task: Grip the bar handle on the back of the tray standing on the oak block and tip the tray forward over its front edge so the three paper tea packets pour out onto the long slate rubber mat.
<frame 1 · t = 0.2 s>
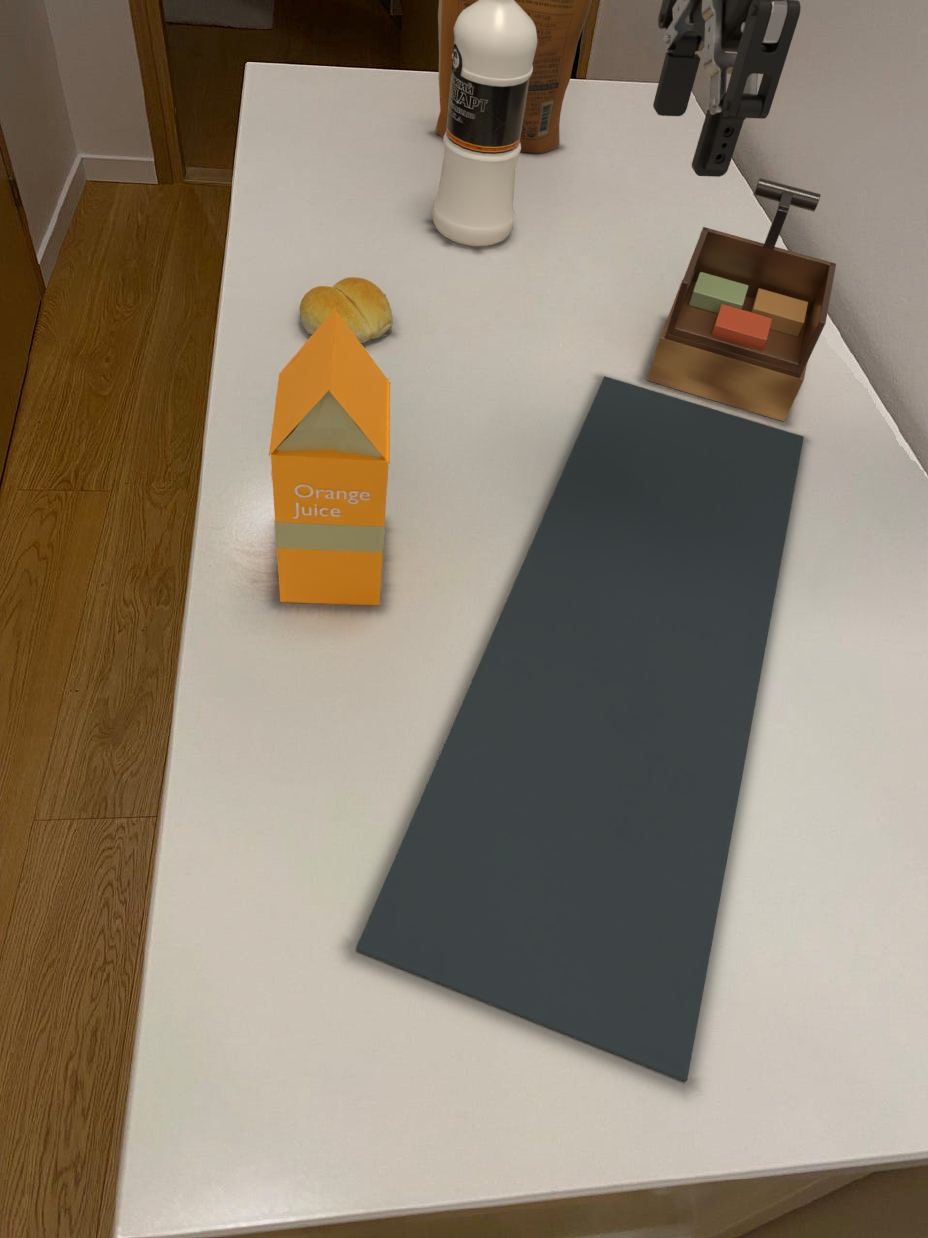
hand: (686, 142, 63), 29 cm above the worktop, tool pointing down, fingers open, 8 cm apart
mat: (633, 633, 73), on the worktop
orange juice: (332, 563, 75), on the worktop
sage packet: (716, 302, 94), point 6 cm above the worktop, touching tray
white bottle: (471, 230, 109), on the worktop
stand: (724, 369, 97), on the worktop
tray: (761, 269, 90), point 10 cm above the worktop, hinge at 0.0°, touching kraft packet, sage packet, stand, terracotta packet
pancake mix bag: (497, 145, 124), on the worktop
bread roll: (347, 324, 95), on the worktop
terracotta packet: (738, 335, 91), point 6 cm above the worktop, touching tray
kraft packet: (775, 319, 94), point 6 cm above the worktop, touching tray
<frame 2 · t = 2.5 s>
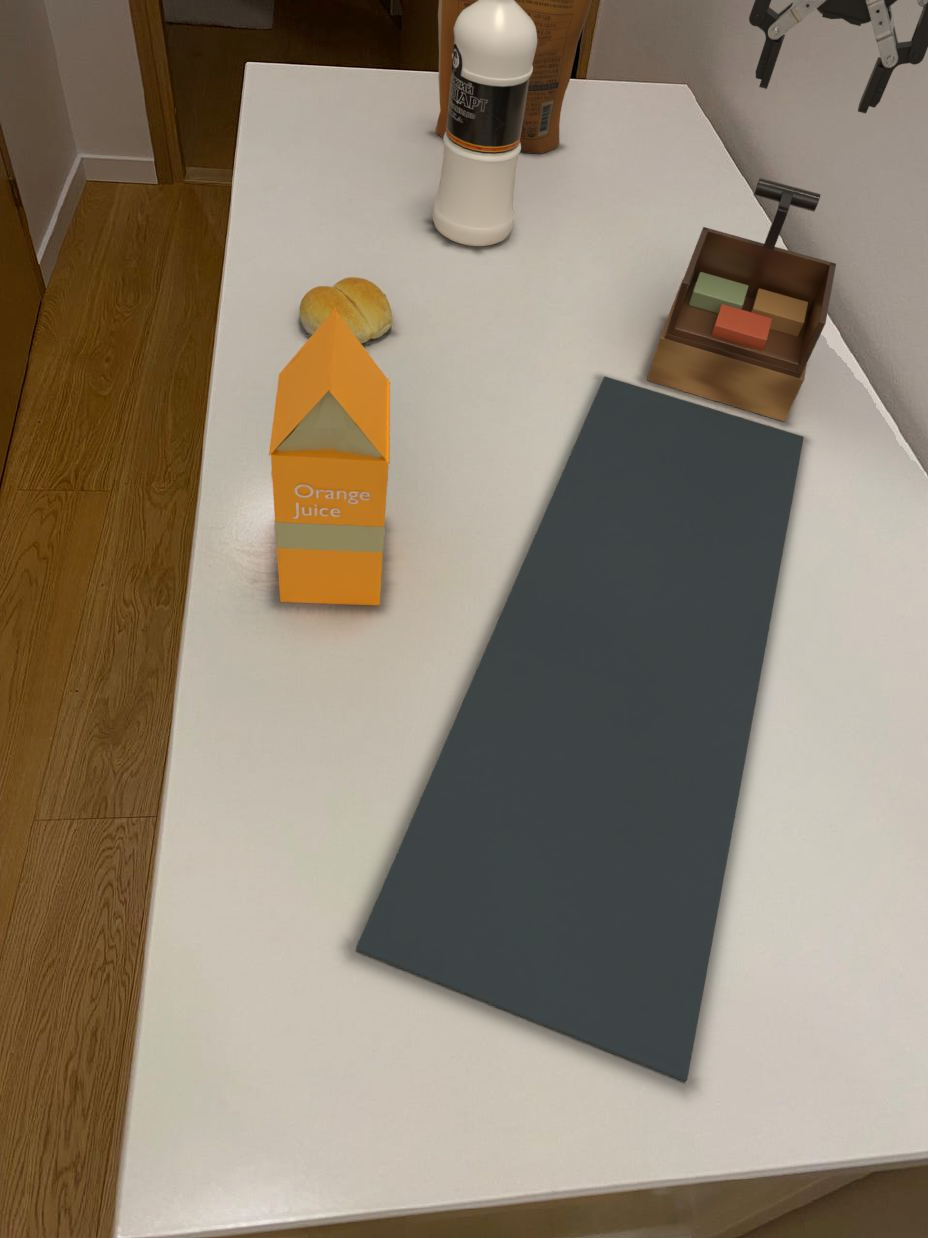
hand: (812, 96, 81), 25 cm above the worktop, tool pointing down, fingers open, 8 cm apart
nothing on the worktop moved.
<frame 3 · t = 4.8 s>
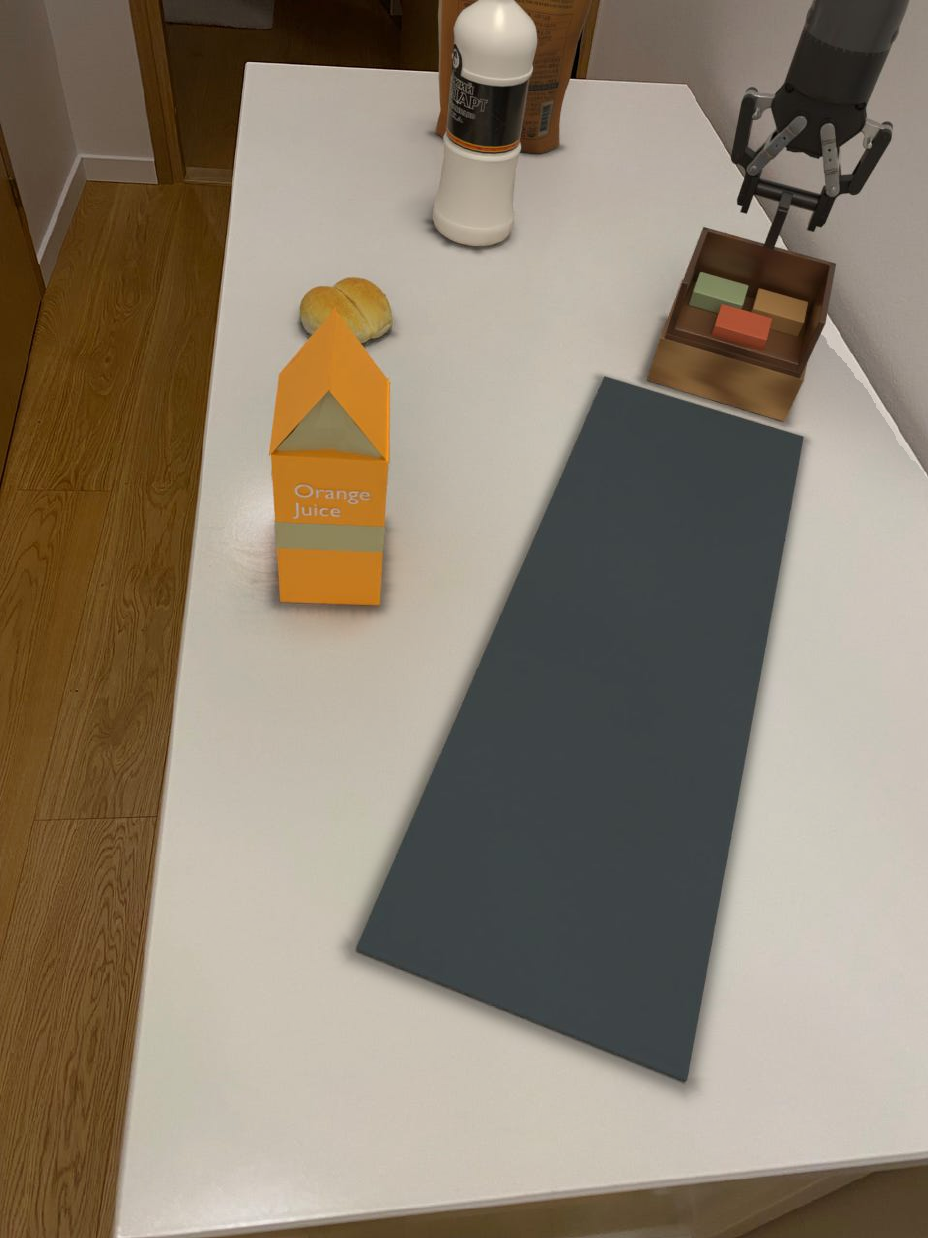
hand: (777, 217, 93), 12 cm above the worktop, tool pointing down, fingers closed on tray, 6 cm apart
tray: (761, 269, 90), point 10 cm above the worktop, hinge at 0.0°, touching gripper, kraft packet, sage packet, stand, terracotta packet
everything else where it was.
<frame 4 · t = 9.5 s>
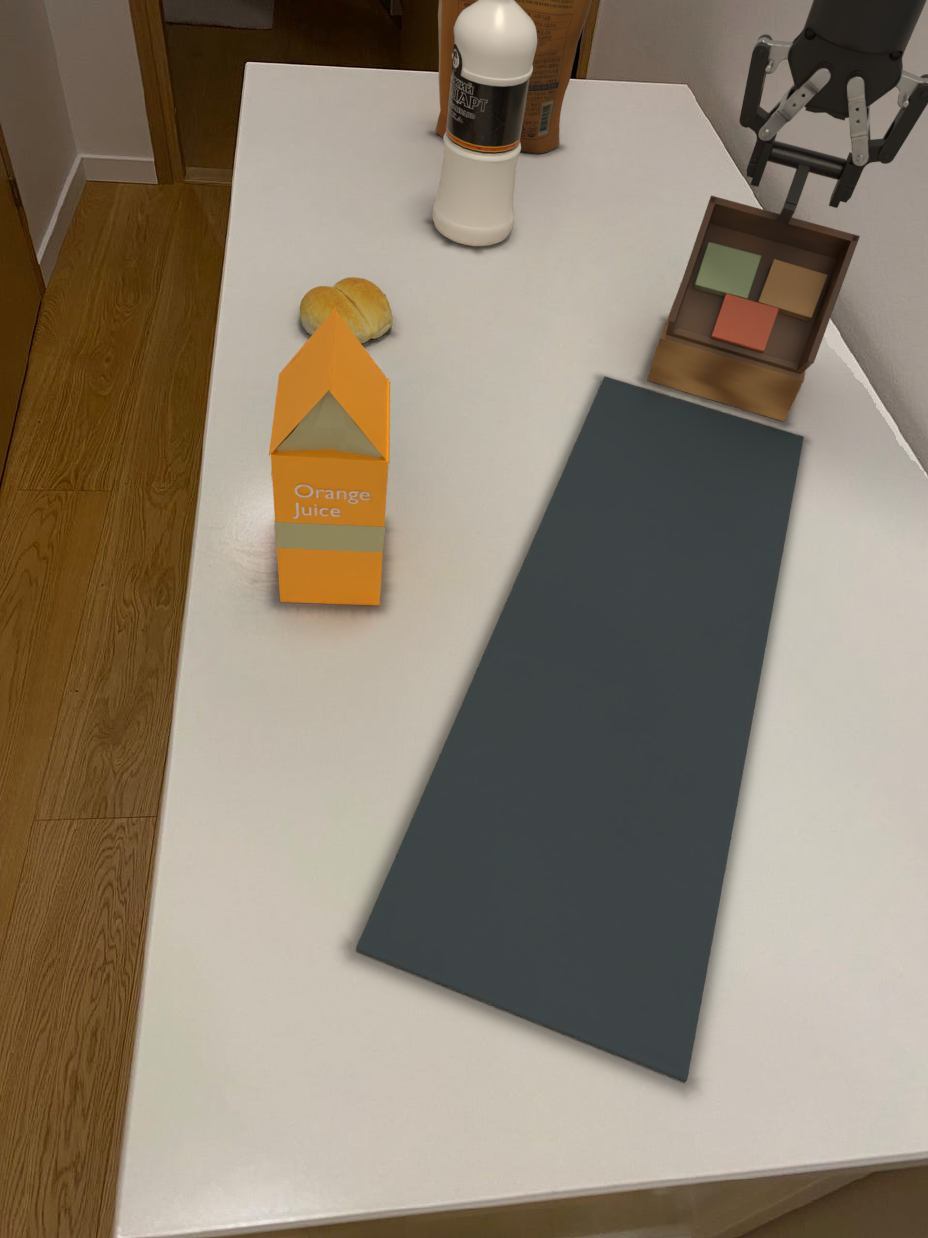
hand: (794, 191, 79), 20 cm above the worktop, tool pointing down, fingers closed on tray, 6 cm apart
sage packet: (726, 274, 89), point 10 cm above the worktop, tilted 46°, touching tray, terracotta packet
tray: (769, 257, 84), point 14 cm above the worktop, hinge at 47.0°, touching gripper, kraft packet, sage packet, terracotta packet
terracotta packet: (742, 325, 89), point 8 cm above the worktop, tilted 47°, touching tray, kraft packet, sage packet
kraft packet: (789, 292, 88), point 10 cm above the worktop, tilted 46°, touching tray, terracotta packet
everything else where it was.
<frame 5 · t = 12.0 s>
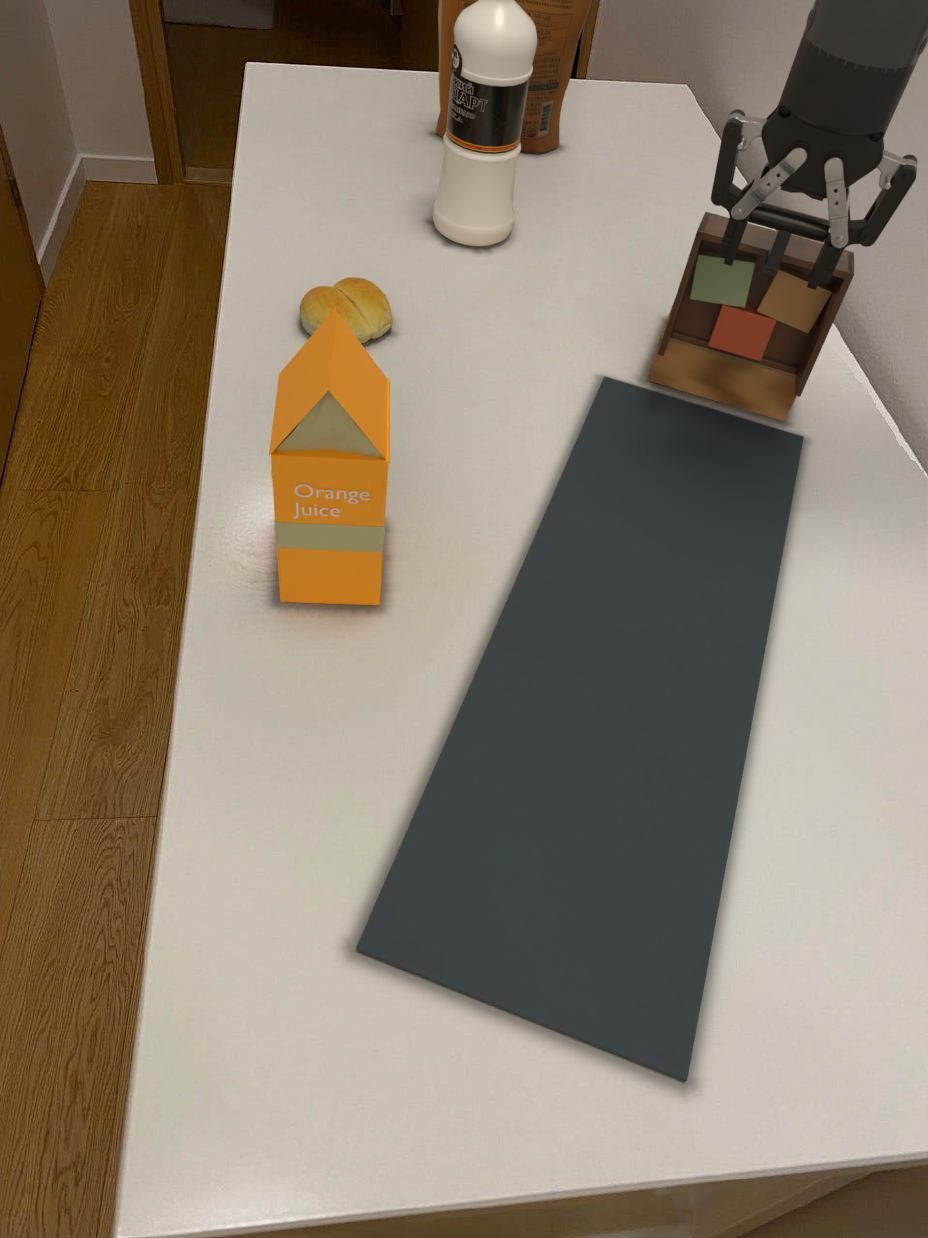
hand: (770, 271, 74), 18 cm above the worktop, tool pointing down, fingers closed on tray, 6 cm apart
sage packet: (723, 275, 85), point 12 cm above the worktop, tilted 79°, touching tray, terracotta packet
tray: (760, 289, 81), point 14 cm above the worktop, hinge at 79.8°, touching gripper, kraft packet, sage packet, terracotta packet
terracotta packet: (743, 327, 87), point 8 cm above the worktop, tilted 80°, touching tray, kraft packet, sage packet
kraft packet: (794, 296, 84), point 12 cm above the worktop, tilted 79°, touching tray, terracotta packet
everything else where it was.
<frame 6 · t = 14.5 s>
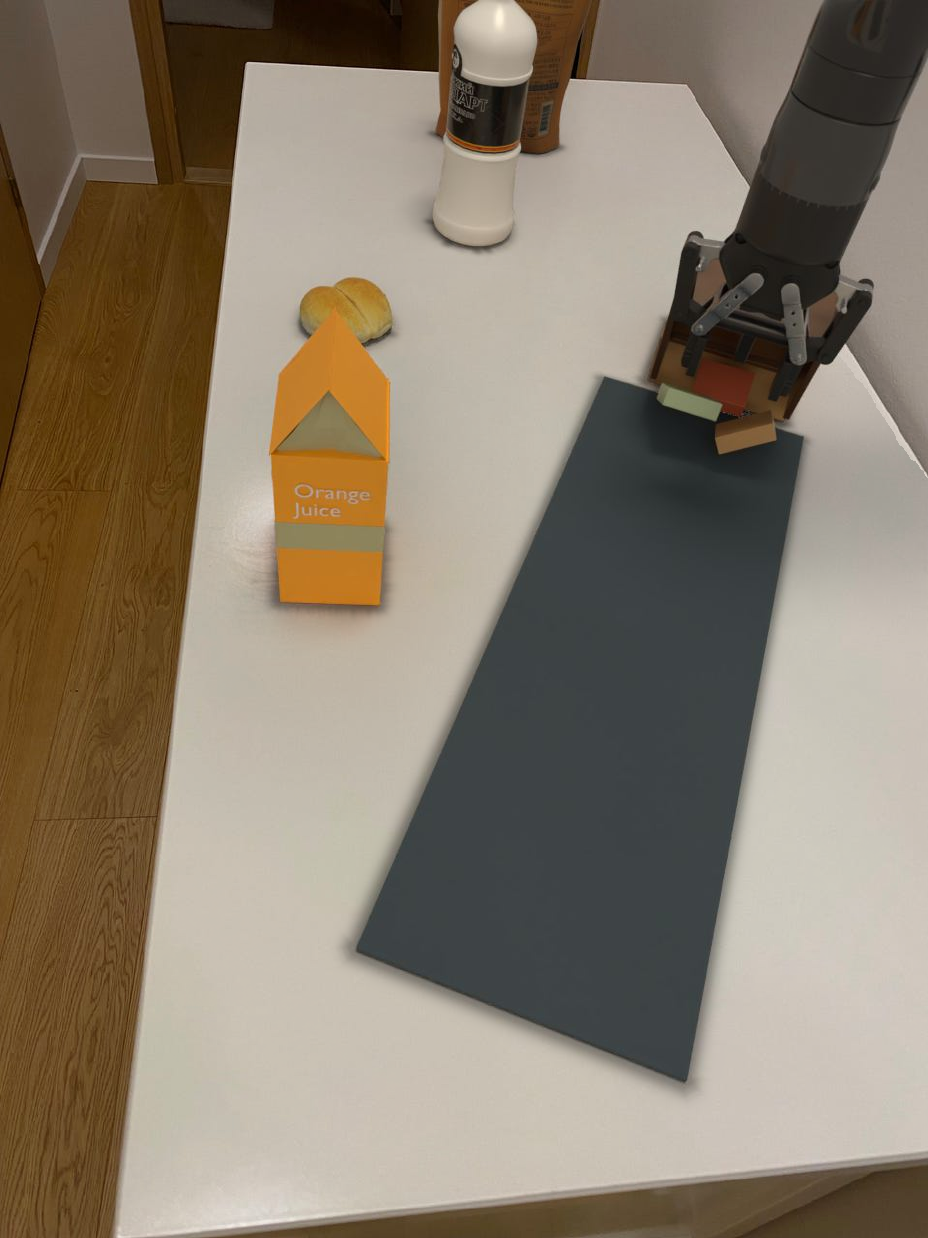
hand: (731, 382, 75), 12 cm above the worktop, tool pointing down, fingers closed on tray, 6 cm apart
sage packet: (692, 392, 84), point 6 cm above the worktop, tilted 150°
tray: (743, 338, 80), point 11 cm above the worktop, hinge at 109.3°, touching gripper
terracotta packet: (723, 382, 87), point 5 cm above the worktop, tilted 162°
kraft packet: (743, 423, 85), point 4 cm above the worktop, tilted 143°
everything else where it was.
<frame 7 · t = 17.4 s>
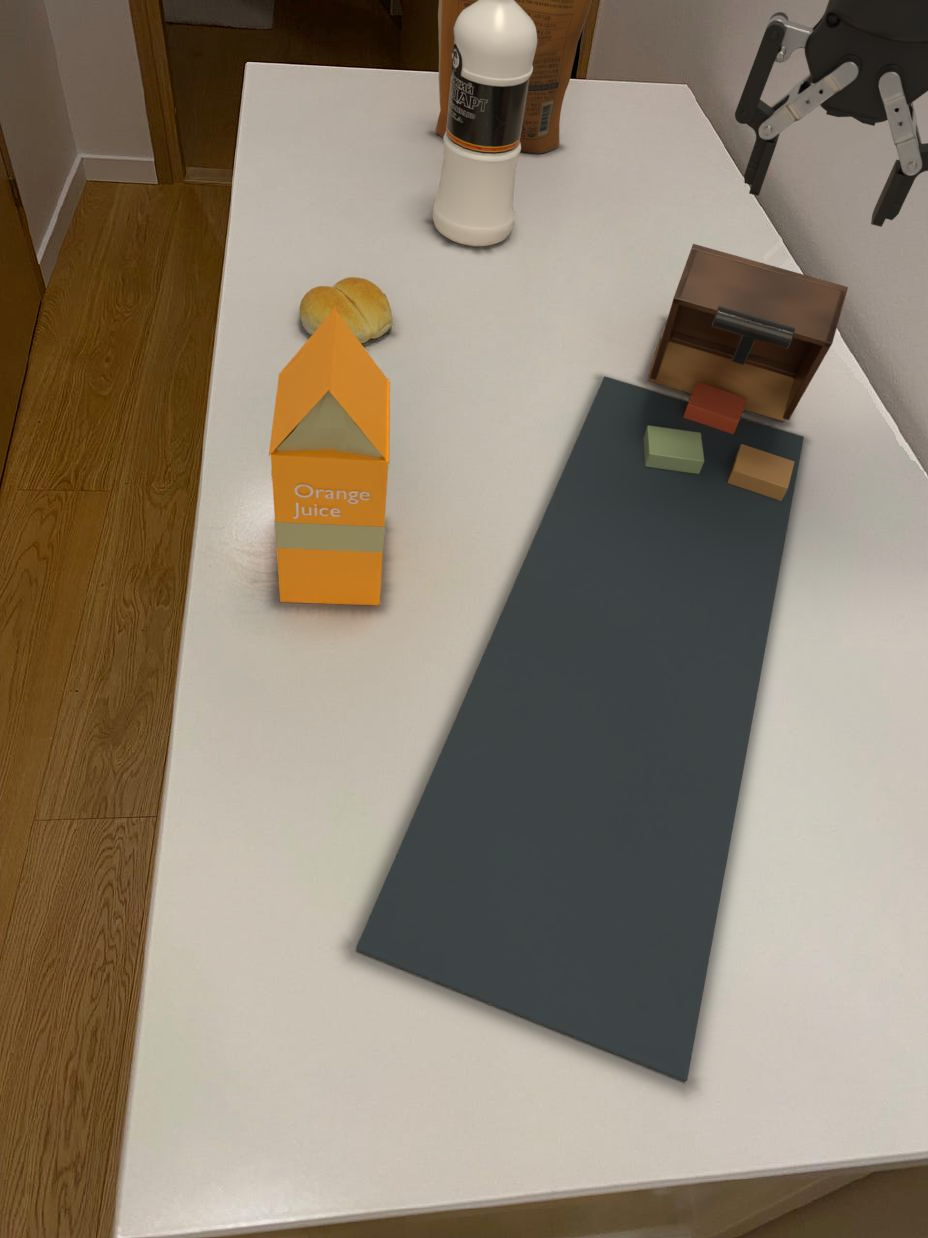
hand: (814, 205, 66), 26 cm above the worktop, tool pointing down, fingers open, 8 cm apart
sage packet: (675, 442, 85), point 2 cm above the worktop, tilted 180°, touching mat
tray: (743, 339, 80), point 11 cm above the worktop, hinge at 109.7°
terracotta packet: (717, 400, 90), point 2 cm above the worktop, tilted 180°, touching mat
kraft packet: (764, 465, 85), point 2 cm above the worktop, tilted 180°, touching mat
everything else where it was.
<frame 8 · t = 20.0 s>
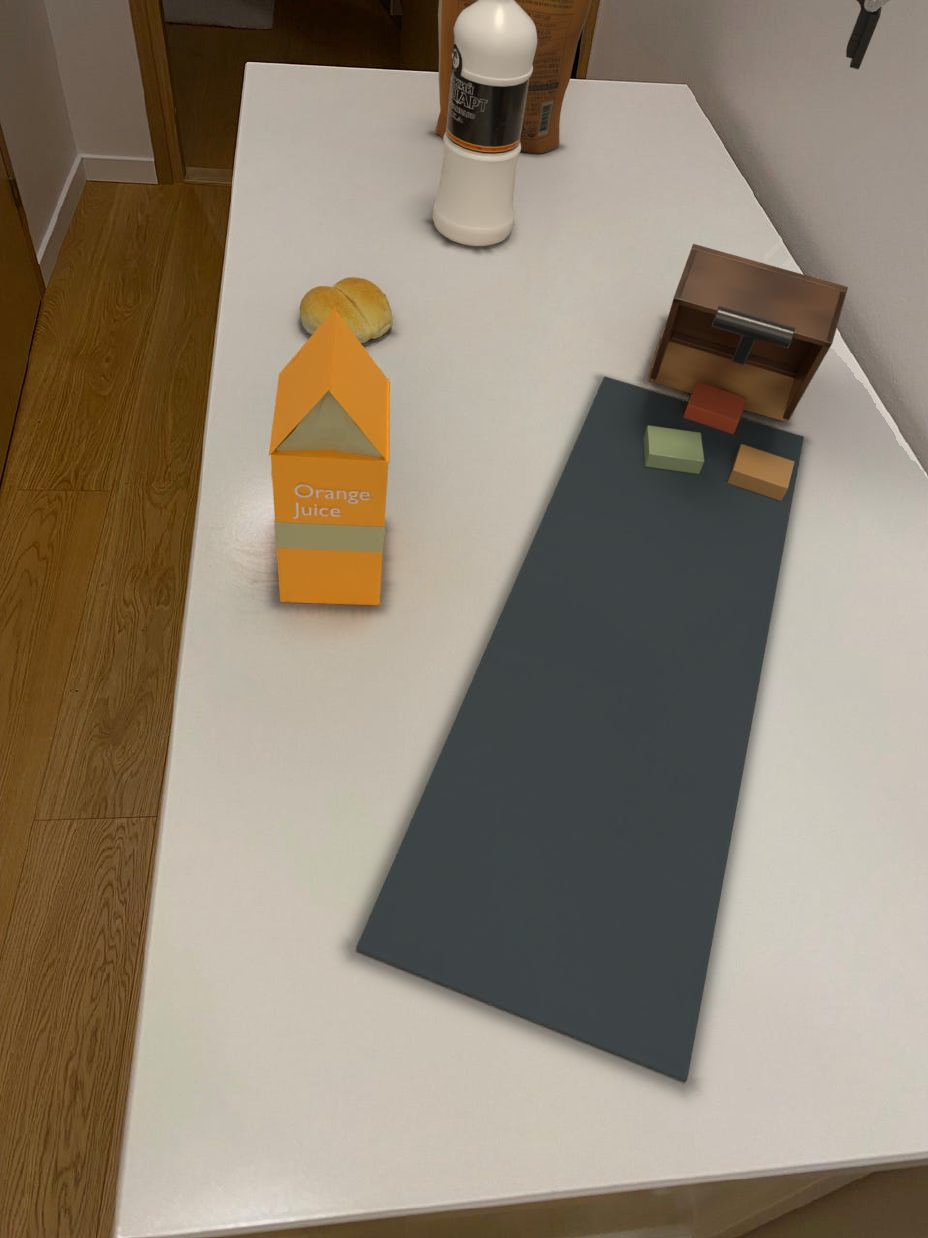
hand: (910, 78, 71), 30 cm above the worktop, tool pointing down, fingers open, 8 cm apart
nothing on the worktop moved.
at the end: kraft packet inside the target area on the mat (22.1 cm from its centre), point 2.0 cm above the mat's base; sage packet inside the target area on the mat (20.4 cm from its centre), point 2.0 cm above the mat's base; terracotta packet inside the target area on the mat (28.4 cm from its centre), point 2.0 cm above the mat's base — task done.
